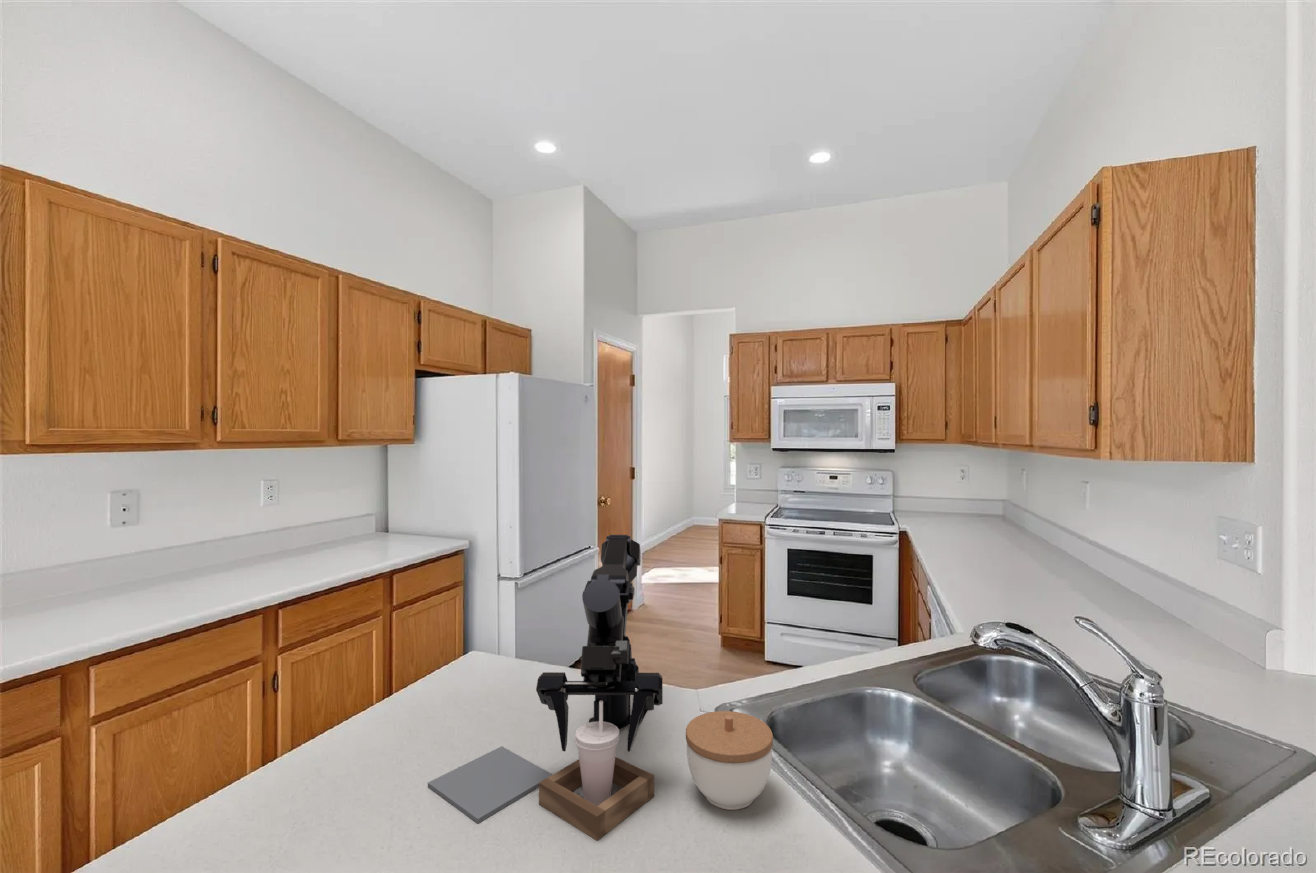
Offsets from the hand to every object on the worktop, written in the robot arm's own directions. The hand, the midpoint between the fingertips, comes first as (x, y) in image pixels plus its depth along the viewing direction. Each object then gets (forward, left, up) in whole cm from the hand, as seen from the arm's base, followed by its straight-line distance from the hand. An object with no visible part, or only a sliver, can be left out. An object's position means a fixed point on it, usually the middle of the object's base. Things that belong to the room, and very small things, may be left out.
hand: (596, 750), depth 77 cm
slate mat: (+6, -16, -8) cm, 19 cm away
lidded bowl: (-14, +13, -8) cm, 21 cm away
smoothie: (-1, -1, -8) cm, 8 cm away
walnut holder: (-1, -1, -8) cm, 8 cm away
